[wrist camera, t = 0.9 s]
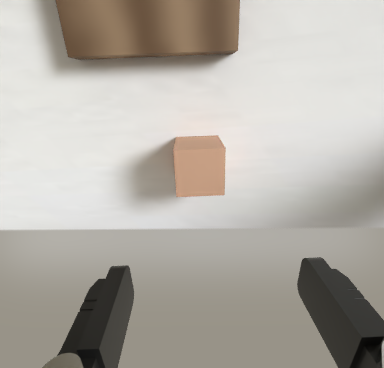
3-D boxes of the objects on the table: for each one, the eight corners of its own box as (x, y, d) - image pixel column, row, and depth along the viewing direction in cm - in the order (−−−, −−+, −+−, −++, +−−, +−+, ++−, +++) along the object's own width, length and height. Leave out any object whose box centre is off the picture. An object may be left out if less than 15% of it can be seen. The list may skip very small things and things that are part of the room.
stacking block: (217, 135, 27) (225, 148, 22) (217, 174, 29) (224, 195, 24) (176, 137, 27) (173, 150, 22) (178, 175, 29) (176, 197, 24)
